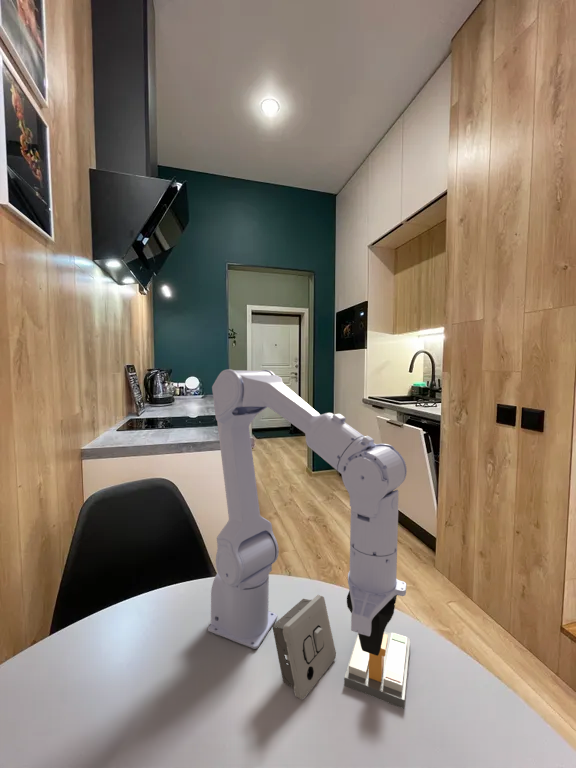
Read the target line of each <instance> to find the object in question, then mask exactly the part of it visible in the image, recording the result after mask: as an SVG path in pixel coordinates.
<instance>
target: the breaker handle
mask: <svg viewBox="0 0 576 768" xmlns="http://www.w3.org/2000/svg"><path fill="white" fill-rule="evenodd" d="M387 643H388V635H386V634H384V635H383V640H382V645H381V649H380V652H379V655H378V656H377V655H374V654H371V653H369V678H371V679H374V680H376V681H379V682H381V680H382V674H383V669H384V656H385V654H386V648H387Z"/></svg>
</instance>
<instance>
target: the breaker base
mask: <svg viewBox="0 0 576 768" xmlns="http://www.w3.org/2000/svg"><path fill="white" fill-rule="evenodd" d="M384 634H386V635H388V643H387V648H386V654H385V656H384V669H383V674H382V680H381V682H379V681H376V680H374V679H371V678H369V653H368V652H365V651H363V650H362V648H361V644H360V640H359V635H358V633H357V634H356V638H355V640H354V644H353V647H352V651H351V654H350V658H349V660H348V663H347V667H346V671H345V674H344V677H343V678H344V679H343V683H344V684H343V685H344V687H347V688H350V689H352V690H354V691H357V692H360V693H362V694H364V695H365V694H366V695H368V696H370V697H372V698H375V699H377V700H381V701H383V702H385V703H388V704H389V705H393V706H396V707H398V708H401V709H405V703H406V693H407V680H408V674H409V673H408V671H409V663H410V652H411V639H410V638H408V636H405V635H402V634H398V633H396V632H387V631H386V630H385V631H384Z"/></svg>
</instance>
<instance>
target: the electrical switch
mask: <svg viewBox="0 0 576 768" xmlns="http://www.w3.org/2000/svg"><path fill="white" fill-rule="evenodd" d="M329 619H330V618H329V614H328V610H327V605H326V600H325V597H324V596H322V595H319V594H317V595H315V596H314V597H313V598H312V599H306V598H302V599H301V600H299V602H297V603H296V604H295V605H294V606H293V607H292V608H290V610H288V611H287V612H286V613H284V615H283V616H281V617H280V618H279V619H277V620H276V621H275V622H274V624H273V625H272V630H273V631H272V632H273V638H274V642H275V647H276V652H277V657H278V663H279V667H280V672H281V677H282V683H283V684H284V685H287V686H289V687H291V688H292V689H293V690H294V695H295V697H296V699H297V698H298V699H300V700H303V699H305V698H306V697H307V696H308V694H309V693H310V692H311V690H312V689H313V688H314V687H315V685H316V684H317V683H318V682H319V680H320V679H321V677H323V675H324V674H325V673H326V671H327V670H328V669H329V668H330V666H331V665H332V664H333V662H334V661H335V660H336V659H337V658H336V657H337V655H336V654H337V650H336V647H335V641H334V638H333V634H332V633H333V631H332V628H331V623H330V620H329Z"/></svg>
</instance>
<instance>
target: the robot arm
mask: <svg viewBox="0 0 576 768" xmlns="http://www.w3.org/2000/svg"><path fill="white" fill-rule="evenodd" d="M211 390H212V398H213V407H214V415H215V416H214V417H215V420H216V421H217V422H216V423H217V430H218V439H219V440H218V441H219V448H220V454H221V462H222V473H223V481H224V490H225V498H226V506H227V507H226V508H227V515H228V521H227V522H226V523H225V525H224V527H223V528H222V529H221V531H220V532H219V533H218V535H217V537H216V543H217V544H216V545H217V549H216V554H215V568H216V572H217V573H216V574H215V577H214V579H213V582H212V585H211V590H210V625H208V628H207V630H208V632H210V633H212V634H215V635H217V636H220V637H223V638H226V639H227V640H230V641H233V642H236V643H238V644H241V645H243V646H246V647H249V648H251V649H254V650H256V649H258V648H259V647H260V645H261V644H262V642H263V640H264V639H265V638H266V636H267V634H268V632H269V631H270V629H271V628H273V625H274V624H275V623H276V621H277V620H278V614H277V613H276V612H272V611H269V602H270V601H269V598H270V597H269V596H270V595H269V594H270V593H269V590H270V588H269V585H270V584H269V583H270V581H269V580H270V573H271V572H272V571H273V564H274V563H276V562H277V560H278V558H279V554H280V553H279V550H280V548H279V544H278V541H277V538H276V537H275V533H274V532H273V525H272V522H271V521H269V520H268V519H266V518H264V517H263V516H262V515H261V511H260V504H259V503H260V502H259V496H258V489H257V488H258V487H257V480H256V472H255V465H254V463H255V462H254V456H253V455H254V454H253V449H252V448H253V447H252V441H251V432H250V425H251V424H252V422H253V421H254V419H255V418H256V417H257V416H259V414H261V413H262V412H263V411H265V410H266V409H267V408H269V409H270V410H272V411H273V412H275V413H276V414H277V415H279V416H280V417H281V418H283V419H284V420H286V421H287V422H289V423H290V424H292V425H293V426H294V427H296V428H297V429H299V430H300V431H301V432H303V433H304V434H305V442H306V445H307V447H308V448H309V449H311V450H312V452H314V453H316V455H318V456H319V457H321V458H322V459H323V460H324V461H325V463H327V464H329V465H330V466H331V467H332V468H333V469H334V470H336V472H338V473H339V474H341V480H342V483H343V485H344V487H345V490H346V491H347V493H348V495H349V507H350V526H349V528H350V530H349V531H350V535H349V537H350V538H349V541H350V542H349V547H350V548H349V571H348V573H347V584H348V594H347V596H346V605H347V609H348V611H350V614H351V617H350V618H351V621H350V623H351V626H350V630H351V632H354V633H357V634H358V635H359V640H360V644H361V648H362V650H363V651H365V652H368V653H371V654H374V655H377V656H378V655H379V652H380V649H381V645H382V640H383V635H384V631H385V632H386V628H387V626H388V624H389V622H390V621H392V619H393V616H394V613H395V609H396V608H395V607H396V602H397V596H400V597H405V596H406V594H407V582H405V581H403V580H399V579H398V578H397V574H398V573H397V572H398V565H397V564H398V541H399V540H398V536H399V531H398V529H399V494H400V493H399V492H400V491H399V490H398V488H399V487H400V486H401V485H402V484H403V483H404V482H405V479H406V477H407V472H408V471H407V464H406V461H405V459H404V457H403V456H402V454H401V453H400V452H399V451H398V450H396V449H395V447H394V446H393V445H391V444H388V443H375V439H374V438H372V437H371V436H369V435H366V436H365V435H364V434H362V433H361V432H359V431H358V430H357V429H355V428H354V427H352V426H351V425H350V424H348V423H347V422H345V421H346V420H347V417H345V416H344V415H343V414H341V413H335V414H334V413H333V412H325V413H322V414H320V413H319V412H318V411H317V410H315V409H314V408H313V406H311V405H310V404H309V403H307V402H306V401H305V400H304V399H303V398H301V397H300V396H299V395H298V394H297V393H295V392H294V391H293V390H292V389H291V388H290V387H289V386H287V385H286V384H285V383H284V382H283V378H282V377H281V376H279V375H277V374H275V373H274V372H273V371H272V370H270V369H269V370H268V369H262V370H250V369H249V370H245V369H243V370H239V369H238V370H237V369H236V370H234V369H232V368H230V369H223V370H222V371H221V372H220V373H219V374H218V375H217V377H216V379H215V380H214V383H213V384H212V386H211Z"/></svg>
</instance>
